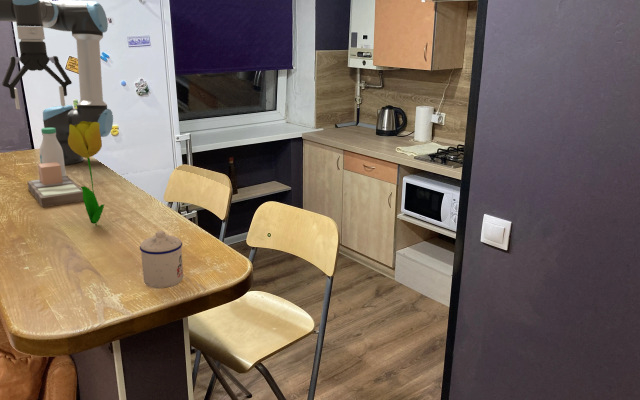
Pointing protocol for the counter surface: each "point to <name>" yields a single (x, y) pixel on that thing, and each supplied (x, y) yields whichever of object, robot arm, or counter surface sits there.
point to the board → (56, 192)
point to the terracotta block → (50, 173)
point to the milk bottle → (51, 149)
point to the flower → (86, 145)
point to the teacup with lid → (162, 260)
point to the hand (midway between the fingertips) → (41, 107)
